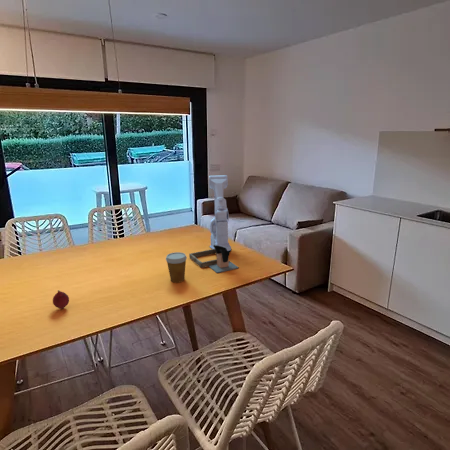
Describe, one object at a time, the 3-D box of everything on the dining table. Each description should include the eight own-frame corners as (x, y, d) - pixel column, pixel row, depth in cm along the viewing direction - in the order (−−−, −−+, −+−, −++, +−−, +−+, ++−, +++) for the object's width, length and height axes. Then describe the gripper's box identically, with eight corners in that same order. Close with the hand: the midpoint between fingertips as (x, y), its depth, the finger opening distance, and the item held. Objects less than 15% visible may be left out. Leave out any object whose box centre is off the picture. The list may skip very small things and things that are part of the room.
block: (216, 265, 173) (216, 253, 171) (224, 263, 175) (224, 252, 173) (220, 267, 169) (220, 256, 168) (228, 266, 171) (228, 254, 170)
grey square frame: (189, 258, 185) (189, 253, 184) (215, 252, 192) (215, 248, 191) (201, 267, 172) (201, 263, 171) (228, 261, 179) (228, 257, 178)
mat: (208, 266, 173) (208, 265, 173) (229, 262, 178) (229, 260, 178) (216, 273, 165) (216, 272, 165) (238, 268, 170) (238, 267, 170)
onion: (72, 304, 138) (69, 286, 136) (66, 312, 133) (63, 293, 131) (58, 305, 138) (54, 287, 136) (51, 312, 133) (48, 293, 130)
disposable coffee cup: (189, 275, 163) (188, 252, 160) (185, 284, 154) (184, 259, 151) (170, 275, 164) (168, 251, 161) (164, 284, 155) (162, 259, 152)
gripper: (208, 231, 172) (209, 256, 176) (221, 239, 159) (222, 266, 163) (220, 229, 175) (221, 254, 179) (234, 236, 163) (235, 263, 166)
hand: (222, 260), depth 171 cm, fingers open, 5 cm apart
